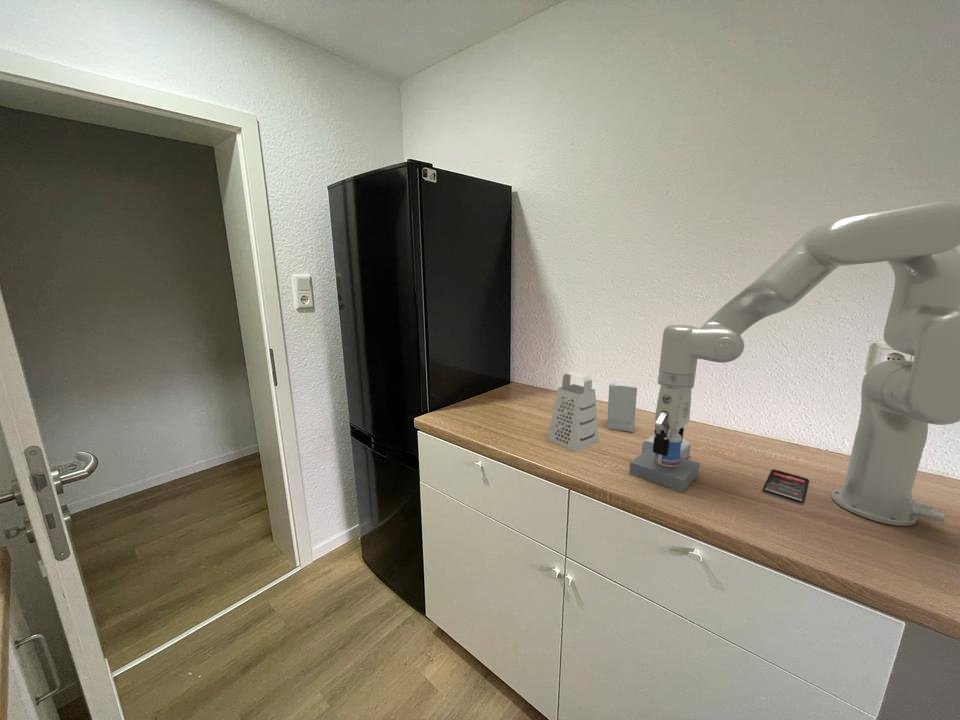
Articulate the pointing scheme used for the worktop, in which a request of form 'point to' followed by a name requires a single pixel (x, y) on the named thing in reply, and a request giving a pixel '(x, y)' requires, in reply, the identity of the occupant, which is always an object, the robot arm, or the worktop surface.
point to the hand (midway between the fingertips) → (667, 447)
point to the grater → (575, 414)
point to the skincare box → (622, 405)
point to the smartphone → (786, 486)
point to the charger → (683, 452)
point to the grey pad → (664, 471)
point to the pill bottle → (671, 450)
